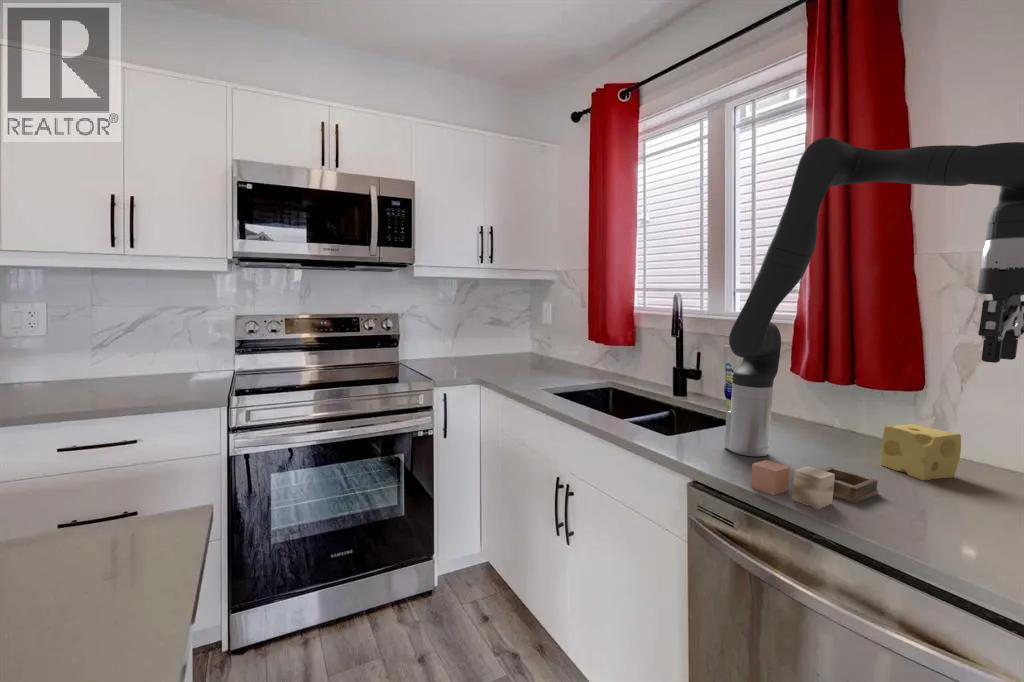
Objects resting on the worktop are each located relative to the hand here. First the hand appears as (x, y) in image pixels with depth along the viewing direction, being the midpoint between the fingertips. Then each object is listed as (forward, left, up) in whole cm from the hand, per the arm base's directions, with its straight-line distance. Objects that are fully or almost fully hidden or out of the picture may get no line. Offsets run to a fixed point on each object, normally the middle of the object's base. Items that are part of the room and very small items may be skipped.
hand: (998, 360), depth 88 cm
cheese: (-17, +22, -30) cm, 40 cm away
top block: (-28, -19, -29) cm, 45 cm away
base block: (-20, -18, -29) cm, 40 cm away
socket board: (-20, -7, -29) cm, 36 cm away
